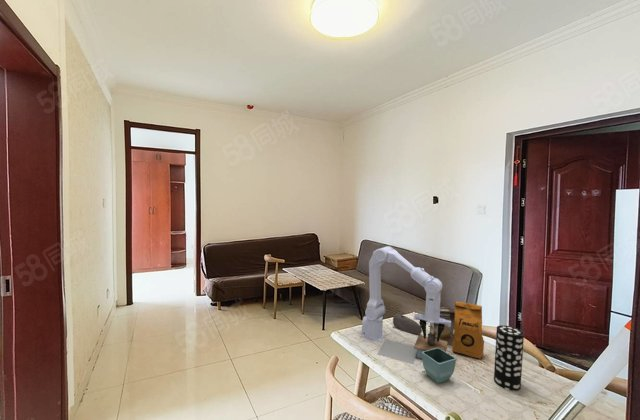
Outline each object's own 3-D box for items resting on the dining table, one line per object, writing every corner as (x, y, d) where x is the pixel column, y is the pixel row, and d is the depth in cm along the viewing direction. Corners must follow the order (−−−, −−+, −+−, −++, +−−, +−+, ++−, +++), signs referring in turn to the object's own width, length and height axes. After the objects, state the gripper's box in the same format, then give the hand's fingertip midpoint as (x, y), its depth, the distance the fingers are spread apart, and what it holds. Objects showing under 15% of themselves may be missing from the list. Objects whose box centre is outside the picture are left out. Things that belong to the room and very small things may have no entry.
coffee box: (432, 345, 134) (434, 310, 133) (428, 338, 140) (430, 305, 139) (453, 346, 133) (455, 312, 132) (448, 339, 139) (450, 306, 138)
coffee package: (482, 362, 121) (485, 310, 119) (450, 353, 127) (452, 303, 126) (484, 352, 129) (486, 303, 128) (453, 343, 136) (455, 297, 135)
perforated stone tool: (423, 335, 144) (424, 321, 143) (418, 338, 140) (419, 324, 140) (397, 324, 155) (397, 311, 154) (391, 327, 151) (392, 314, 151)
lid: (413, 348, 122) (414, 337, 121) (418, 336, 132) (419, 326, 132) (445, 356, 116) (445, 344, 116) (447, 343, 127) (448, 332, 126)
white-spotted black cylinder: (521, 394, 101) (524, 338, 100) (493, 385, 106) (496, 331, 105) (520, 381, 108) (523, 329, 107) (494, 374, 113) (496, 323, 112)
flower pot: (420, 374, 112) (421, 351, 111) (437, 369, 115) (438, 347, 115) (438, 388, 103) (439, 363, 103) (455, 382, 107) (457, 358, 107)
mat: (376, 355, 124) (376, 354, 124) (385, 339, 138) (385, 339, 138) (413, 364, 118) (413, 363, 118) (418, 347, 131) (418, 347, 131)
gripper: (413, 307, 123) (412, 339, 124) (451, 314, 117) (449, 347, 117) (416, 302, 129) (414, 332, 130) (451, 308, 123) (450, 340, 124)
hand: (431, 339), depth 124 cm, fingers open, 5 cm apart
